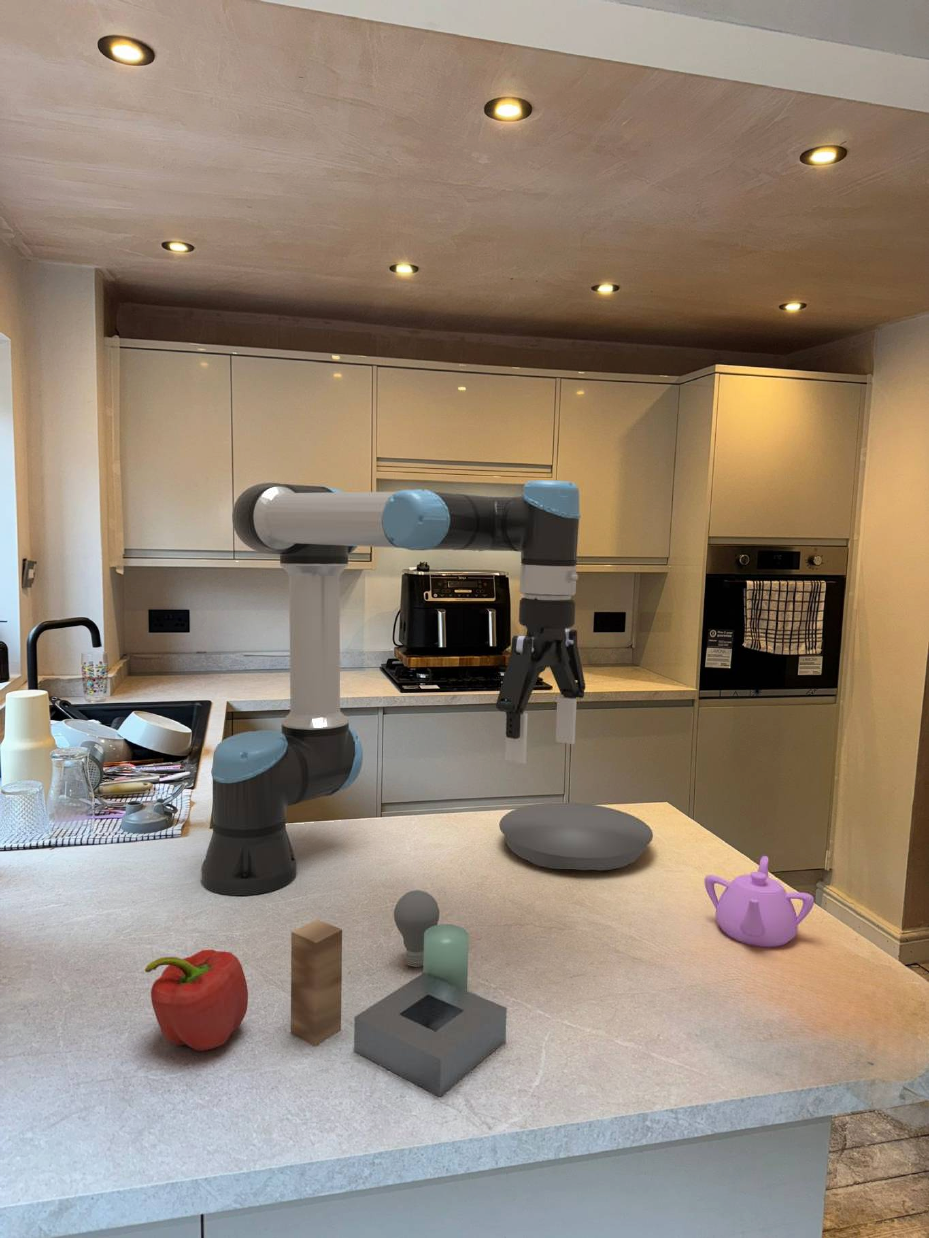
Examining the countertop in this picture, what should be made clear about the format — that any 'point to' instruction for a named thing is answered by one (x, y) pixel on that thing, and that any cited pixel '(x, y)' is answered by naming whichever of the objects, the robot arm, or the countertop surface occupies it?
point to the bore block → (430, 1032)
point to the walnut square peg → (316, 981)
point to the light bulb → (415, 922)
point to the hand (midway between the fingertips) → (541, 751)
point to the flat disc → (575, 836)
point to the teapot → (757, 908)
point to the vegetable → (199, 998)
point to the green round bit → (447, 954)
